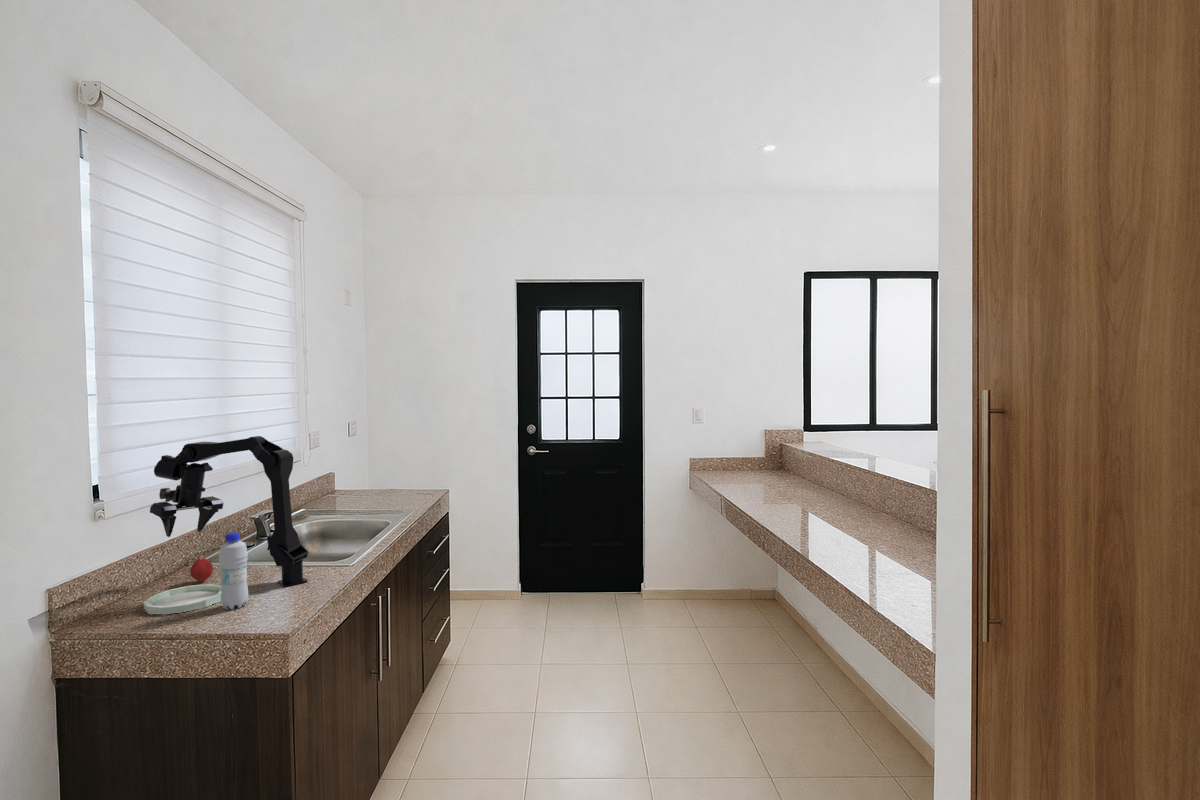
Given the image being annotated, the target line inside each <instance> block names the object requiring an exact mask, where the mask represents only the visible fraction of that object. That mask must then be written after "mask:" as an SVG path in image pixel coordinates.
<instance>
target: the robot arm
mask: <svg viewBox="0 0 1200 800" xmlns="http://www.w3.org/2000/svg"><path fill="white" fill-rule="evenodd" d="M246 451H250V452H251V453H252V455H253V457H254V458H255V459H256V460H257V461H259V463H261V464H262V467H263V471H264V474H265V476H266V477H267V478H268V480H269V482H270V490H271V492H270V493H271V501H272V502H271V503H272V513H273V514H272V516H273V526H274V527H273V528H274V530H273V532H272V534H270V535H267V536H266V542H267V548H266V550H267V551H269V554H270V557H273V560H274V563H275V566H276V567H281V568H280V569H281V579H280V580H277V583H278V584H279V585H281V586H283V587H286V588H287V587H291V586H294V585H295V586H296V585H299V584H303V583H307V582H308V581H309V579H307V578H305V577H304V566H303V565H304V564H303V560H305V559H307V558H308V555H309V550H307V548H306V547H305V546H303V545H302V544H301V542H300V538H299V534H298V531H296V529H295V528H294V525H293V515H292V503H291V494H290V493H291V492H290V491H291V490H290V477H291V474H292V471H293V467H294V455H293V453H292V452H290V451H289V450H287V449H284V448H283V447H281V446H280V445H278V444H276V443H273V442H271V441H269V440H268V439H266V438H265V437H263V436H261V435H257V436H250V437H248V438H242V439H235V440H229V441H222V442H217V441H197V442H191V443H186V444H184V445H183V447H182V449H181V451H180V452H179V453H178V454H177V455H176V456H173V455H170V454H169V455H168V454H166V455H162V456H161V457H160V458H161V459H160V460H159V461H158V462H157V463H156V464H155V466H154V468H153V472H154V473H153V474H154V476H156V477H157V478H162V479H165V480H166V479H167V480H171V481H180V483H179V484H177V485H176V487H175V489H172V490H171V488H170V487H166V488H165V487H163V488H160V491H159V499H160V500H165V501H162V502H154V503H153V504H151V506H150V507H149V508H150V509H149V513H150V514H152V515H154V516H157V517H159V519H160V520H161V522H162V524H163V528H164V532H165V536H166V537H168V538H170V537H171V536H172V533H173V531H174V527H175V524H176V519H177V515H176V514H177V512H179V511H186V510H192V509H194V510H195V509H198V513H199V515H198V520H197V527H196V528H197V529H196V530H197V532H199V533H201V532H202V531H203V529H204V528H205V527H206V526H207V524H208V523H209V521H210V520H211V519H212V517H214V515H216V513H219V510H223V509H224V508H223V507H224V501H223V500H222V499H221V498H218V497H215V496H213V495H212V496H204V497H202V494H203V492H204V493H205V492H206V488H205V487H204V480H205V475H206V472H211V471H213V470H214V468H213V467H212V466H211V465H210V464H209V462H202V461H207V460H210V459H213V458H215V457H218V456H221V455H225V454H232V453H238V452H246ZM198 462H202V463H198ZM188 463H189V464H188ZM190 463H191V464H190ZM170 502H172V503H173V504H172V503H170ZM174 503H175V504H174Z"/></svg>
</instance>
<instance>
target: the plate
mask: <svg viewBox="0 0 1200 800" xmlns="http://www.w3.org/2000/svg"><path fill="white" fill-rule="evenodd" d="M221 589H222V584H210V583H205V584H204V583H203V584H195V585H192V584H191V585H185V586H181V587H176V588H172V589H167V590H164V591H161V592H159V593H156V594H153V595H152V596H151V595H150V596H149V597H148V598H147V599H145V601H143V610H144V609H145V610H146V611H147V612H149V613H160V614H169V613H179V612H186V611H190V610H194V609H199V608H203V607H206V606H209V605H211V606H213V605H212V604H214V603H216V604H218V603H220V602H219V601H221ZM217 602H218V603H217ZM214 605H215V604H214ZM209 607H210V606H209ZM203 609H204V608H203ZM145 610H144V611H145ZM199 610H200V609H199ZM146 611H145V612H146ZM147 612H146V613H147Z"/></svg>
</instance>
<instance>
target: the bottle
mask: <svg viewBox="0 0 1200 800" xmlns="http://www.w3.org/2000/svg"><path fill="white" fill-rule="evenodd" d="M224 541H225V543H223V544H221V545H220V546H219V547H220V548H219V555H218V560H219V562H218V564H219V565H220V579H221V580H220V581H221V584H220V585H221V586H222V589H221V605H222V607H223V609H225V610H228V609H230V610H234V609H235V606H237V608H238V609H241V608H242V607H243V606H242V605H245V606H246V605H247V604H248V601H249V588H248V572H247V571H248V569H247V561H248V560H249V559H248V555H249V554H248V550H247V549H248V548H247V543H246V542H244V541H241V535H240V533H238V532H233V531H232V532H229V533H228V532H227V534H225V537H224ZM240 607H241V608H240ZM227 608H228V609H227Z"/></svg>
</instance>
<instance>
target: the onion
mask: <svg viewBox="0 0 1200 800" xmlns="http://www.w3.org/2000/svg"><path fill="white" fill-rule="evenodd" d="M213 572H214V565H213V564H212V562H211V561H209V559H207V558H205V557H204V556H202V555H201V556H198V557H197V559H196V561H195V562H193V564H192V565H191V567H190V569H189V574H190V576H191V578H192V579H194V580H196V581H197V582H199V583H204V582H205V581H206V580H208V579H209V578H210V577H211V575H212V574H213Z"/></svg>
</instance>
